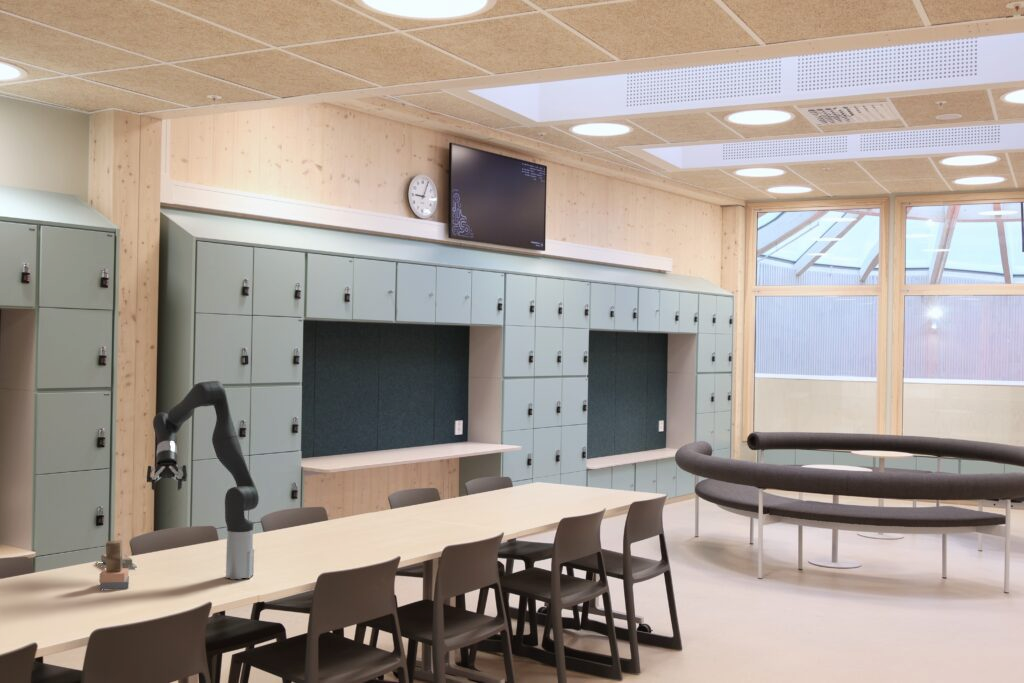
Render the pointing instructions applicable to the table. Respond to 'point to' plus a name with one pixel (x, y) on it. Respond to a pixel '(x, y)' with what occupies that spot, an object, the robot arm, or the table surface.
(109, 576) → the upper slab
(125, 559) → the packaged product
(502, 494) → the table surface
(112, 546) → the brown block
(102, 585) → the lower slab
